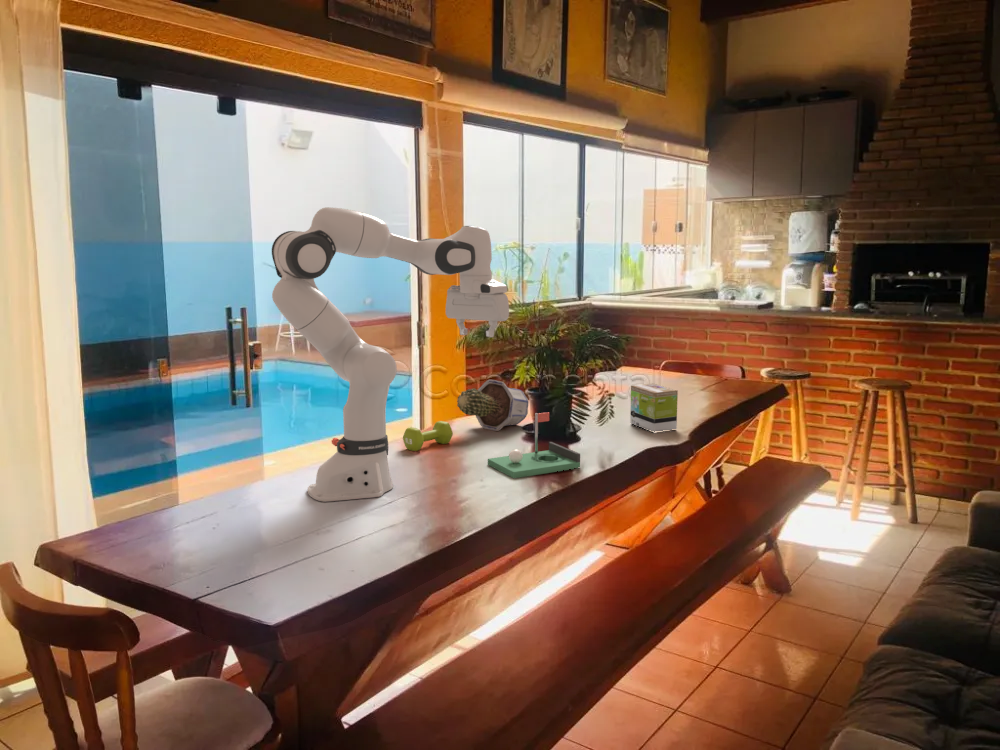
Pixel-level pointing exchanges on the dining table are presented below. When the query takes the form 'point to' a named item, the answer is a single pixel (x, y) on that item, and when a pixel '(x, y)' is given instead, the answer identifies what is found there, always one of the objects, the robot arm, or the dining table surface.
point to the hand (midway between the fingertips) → (476, 336)
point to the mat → (538, 462)
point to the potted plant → (494, 405)
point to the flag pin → (538, 418)
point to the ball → (515, 456)
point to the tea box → (654, 407)
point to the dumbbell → (427, 435)
